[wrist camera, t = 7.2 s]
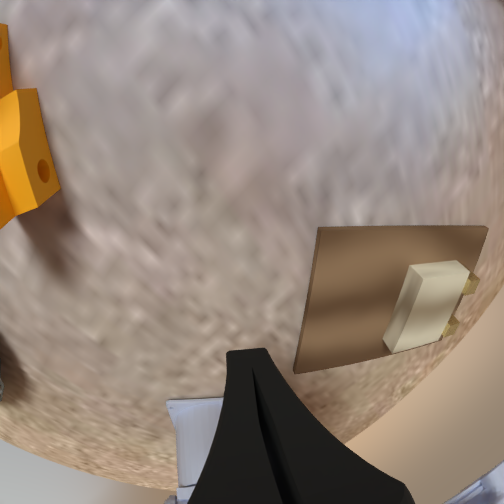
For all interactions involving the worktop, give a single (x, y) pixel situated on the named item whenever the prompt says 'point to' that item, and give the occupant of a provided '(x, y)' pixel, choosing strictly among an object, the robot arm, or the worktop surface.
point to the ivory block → (425, 304)
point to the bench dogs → (468, 289)
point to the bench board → (369, 286)
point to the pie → (1, 384)
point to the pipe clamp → (21, 146)
